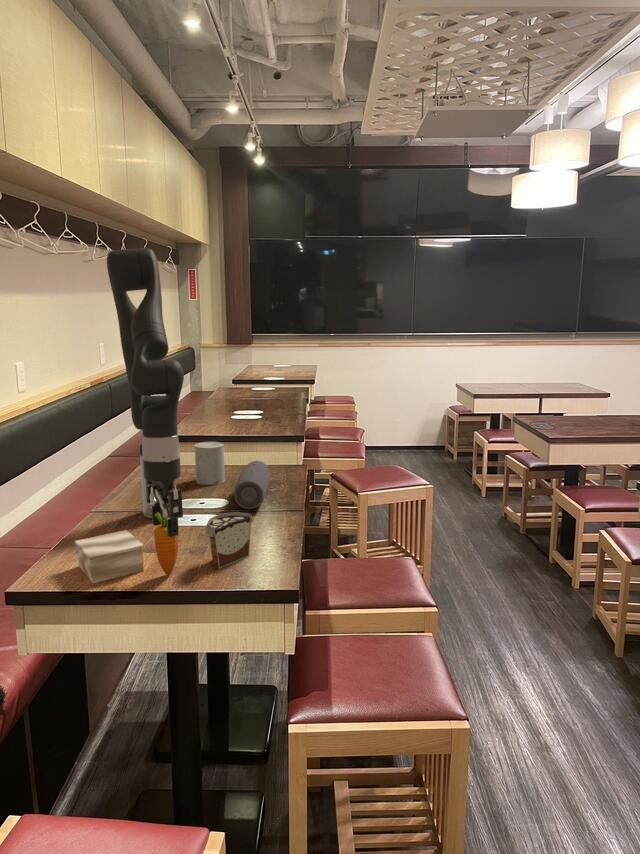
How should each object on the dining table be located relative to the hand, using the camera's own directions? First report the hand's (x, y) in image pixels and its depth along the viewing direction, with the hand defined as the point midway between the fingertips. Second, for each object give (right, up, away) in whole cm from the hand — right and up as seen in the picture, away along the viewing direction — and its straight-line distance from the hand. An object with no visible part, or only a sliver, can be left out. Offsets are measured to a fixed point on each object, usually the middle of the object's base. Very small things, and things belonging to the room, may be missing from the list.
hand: (165, 530), depth 135 cm
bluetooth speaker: (+13, 0, +54) cm, 55 cm away
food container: (+11, -9, +11) cm, 18 cm away
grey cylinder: (-3, +4, +75) cm, 75 cm away
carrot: (0, -10, +2) cm, 11 cm away
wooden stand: (-14, -10, +6) cm, 18 cm away
